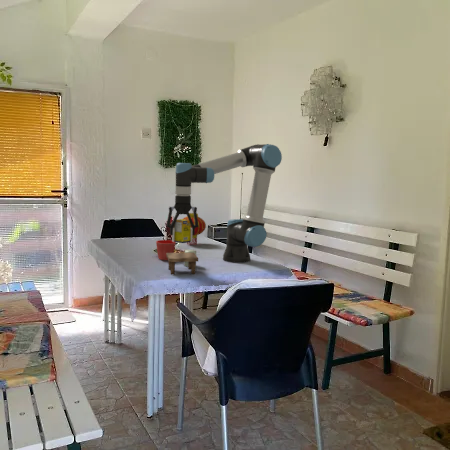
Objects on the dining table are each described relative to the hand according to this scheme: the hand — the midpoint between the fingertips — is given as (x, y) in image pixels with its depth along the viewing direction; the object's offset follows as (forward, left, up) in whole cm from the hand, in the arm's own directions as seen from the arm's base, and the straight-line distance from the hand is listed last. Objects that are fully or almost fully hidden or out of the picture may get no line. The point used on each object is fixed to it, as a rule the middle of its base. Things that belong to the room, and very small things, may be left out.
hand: (182, 241), depth 237 cm
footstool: (0, 0, -15) cm, 15 cm away
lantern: (-16, -73, -15) cm, 76 cm away
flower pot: (+5, -30, -15) cm, 34 cm away
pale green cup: (-6, -12, -15) cm, 20 cm away
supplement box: (0, 0, 0) cm, 0 cm away
